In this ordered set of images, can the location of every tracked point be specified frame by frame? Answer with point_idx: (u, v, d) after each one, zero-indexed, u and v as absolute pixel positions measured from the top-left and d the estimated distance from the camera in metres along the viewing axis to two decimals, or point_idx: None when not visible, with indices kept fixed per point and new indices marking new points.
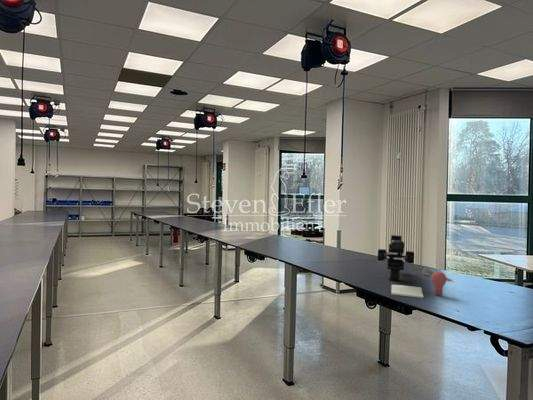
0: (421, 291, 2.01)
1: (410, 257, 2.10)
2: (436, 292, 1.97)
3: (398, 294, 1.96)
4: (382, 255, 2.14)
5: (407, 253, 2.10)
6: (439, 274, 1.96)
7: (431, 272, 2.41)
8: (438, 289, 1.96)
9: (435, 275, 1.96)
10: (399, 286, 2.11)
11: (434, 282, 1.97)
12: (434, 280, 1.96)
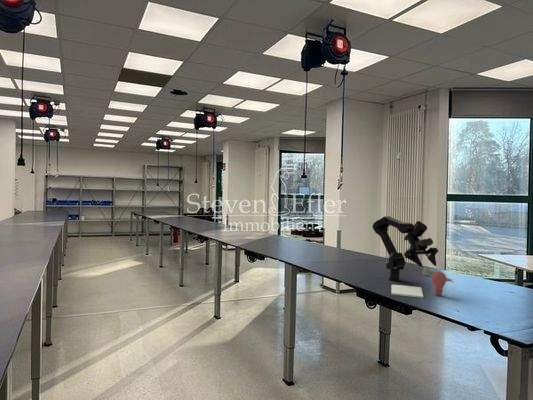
0: (421, 291, 2.01)
1: None
2: (436, 292, 1.97)
3: (398, 294, 1.96)
4: (412, 256, 2.06)
5: (434, 253, 2.09)
6: (439, 274, 1.96)
7: (431, 272, 2.41)
8: (438, 289, 1.96)
9: (435, 275, 1.96)
10: (399, 286, 2.11)
11: (434, 282, 1.97)
12: (434, 280, 1.96)
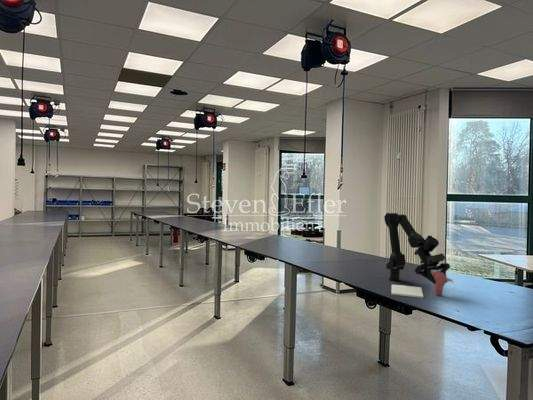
0: (421, 291, 2.01)
1: None
2: (436, 292, 1.97)
3: (398, 294, 1.96)
4: (425, 272, 1.99)
5: (444, 269, 2.01)
6: (439, 274, 1.96)
7: (431, 272, 2.41)
8: (438, 289, 1.96)
9: (435, 275, 1.96)
10: (399, 286, 2.11)
11: None
12: None
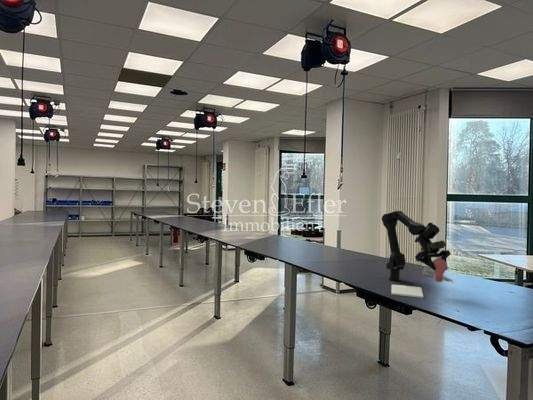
0: (421, 291, 2.01)
1: None
2: (436, 279, 1.97)
3: (398, 294, 1.96)
4: (425, 259, 1.99)
5: (445, 256, 2.01)
6: (439, 261, 1.96)
7: (431, 272, 2.41)
8: (438, 276, 1.96)
9: (435, 262, 1.96)
10: (399, 286, 2.11)
11: None
12: None
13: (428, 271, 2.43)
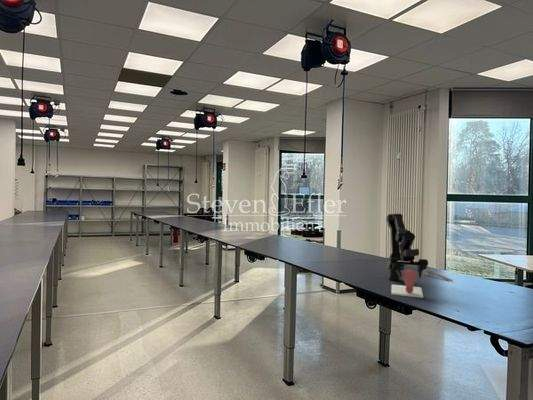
0: (421, 291, 2.01)
1: (423, 267, 2.00)
2: (406, 289, 1.98)
3: (398, 294, 1.96)
4: (394, 266, 2.01)
5: (421, 265, 1.98)
6: (407, 271, 1.96)
7: (431, 272, 2.41)
8: (407, 286, 1.97)
9: (404, 272, 1.97)
10: (399, 286, 2.11)
11: (403, 279, 1.98)
12: (403, 277, 1.97)
13: (428, 271, 2.43)
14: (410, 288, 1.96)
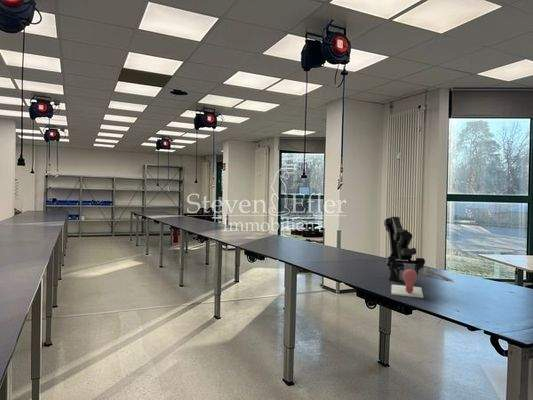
0: (421, 291, 2.01)
1: (420, 265, 2.05)
2: (406, 289, 1.98)
3: (398, 294, 1.96)
4: (392, 264, 2.06)
5: (418, 264, 2.03)
6: (408, 271, 1.96)
7: (431, 272, 2.41)
8: (407, 286, 1.97)
9: (404, 272, 1.97)
10: (399, 286, 2.11)
11: (403, 278, 1.98)
12: (403, 277, 1.98)
13: (428, 271, 2.43)
14: (410, 288, 1.96)
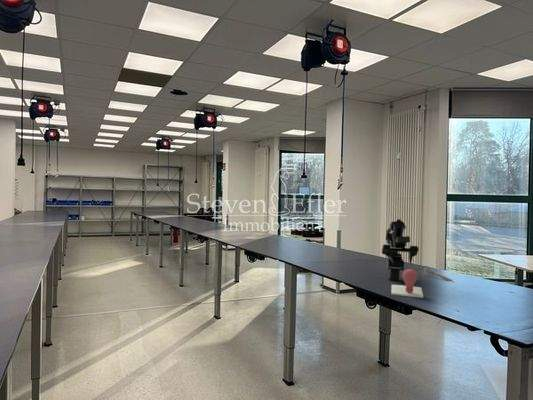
0: (421, 291, 2.01)
1: (414, 253, 2.14)
2: (406, 289, 1.98)
3: (398, 294, 1.96)
4: (387, 252, 2.16)
5: (412, 251, 2.12)
6: (408, 271, 1.96)
7: (432, 272, 2.41)
8: (407, 286, 1.97)
9: (404, 272, 1.97)
10: (399, 286, 2.11)
11: (403, 279, 1.98)
12: (403, 277, 1.97)
13: (428, 271, 2.43)
14: (410, 288, 1.96)
